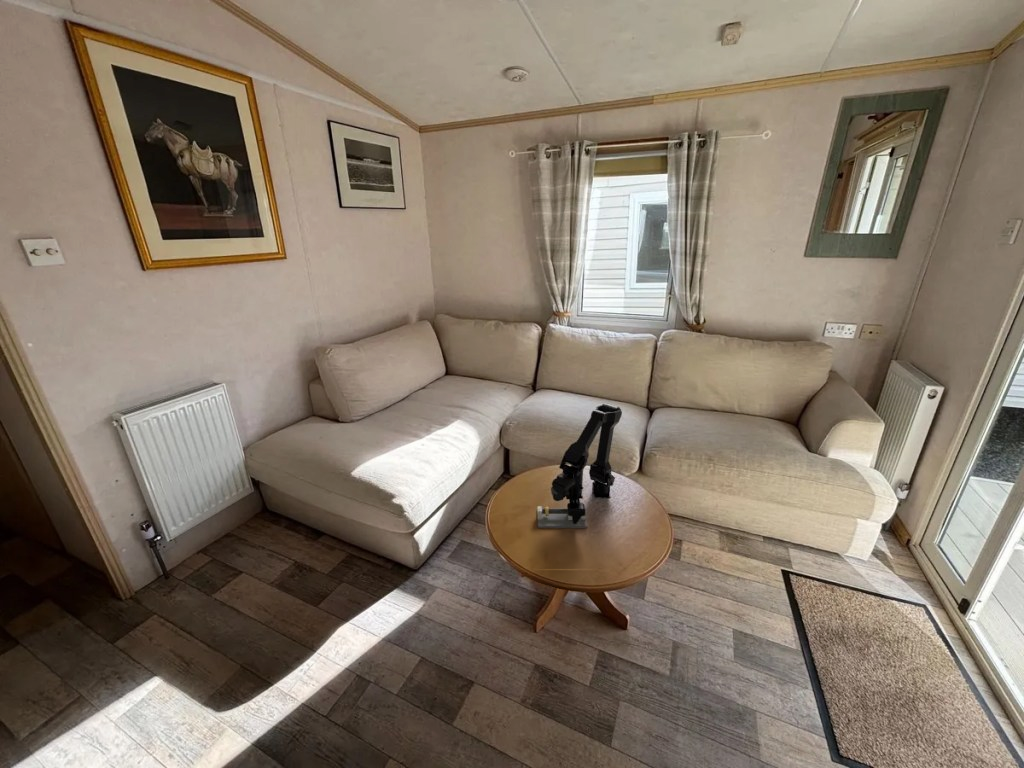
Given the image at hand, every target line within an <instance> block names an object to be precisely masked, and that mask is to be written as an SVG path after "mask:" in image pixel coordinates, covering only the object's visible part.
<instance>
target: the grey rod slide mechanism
mask: <svg viewBox="0 0 1024 768" xmlns="http://www.w3.org/2000/svg"><path fill="white" fill-rule="evenodd" d="M536 513H537V528H538V529H587V528H588V524H587V520H586V519H587V518H586V517H587V514H586V515H585V516H582V517H581V518H580V519H579V521H578V522H577V523H576V524H573V520H568V512H567V507H555V508H554V507H549V506H545V507H543V506H542V505H539V506H537V510H536Z"/></svg>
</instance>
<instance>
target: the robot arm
mask: <svg viewBox="0 0 1024 768" xmlns="http://www.w3.org/2000/svg"><path fill="white" fill-rule="evenodd" d="M622 414H623V411H622V409H621V407H619V406H617V405H612V404H610V403H606V402H604V403H602V404H601V405H597V406H596V407H595V409H593V410H592V411H591V414H590V418H589V419H588V422H587V423H586V425H585V427H584V428H583V430H582V432H581V433H580V435H579V436H578V438H577V440H576V441H575V442H572V443H571V444H570V445H569V446H568V448H567V450H565V452H564V454H563V456H562V458H561V459H562V460H561V461H560V463H559V467H558V469H560V470H562V471H561V472H560V473H559V474H558V475H556V477H555V478H554V479H553V480H552V482H551V487H550V493H551V495H552V499H553V500H554V501H555V502H560V501H563V500H564V499H565V500H568V503H569V504H568V503H567V504H566V505H567V506H566V508H567V512H568V515H569V516H572V520H573V524H576V523H577V522H578V521H579V519H580V518H581V517H582V516H585V515H586V516H587V510H586V505H585V504H584V503H583V502H581V500H582V499H584V497H583V496H584V495H583V490H584V484H583V481H584V480H583V478H584V469H585V468H586V467H587V463H588V459H589V457H590V452H589V450H590V447H591V446H592V444H593V442H594V439H596V437H597V435H598V432H599V431H600V433H599V439H598V445H597V446H598V447H597V453H596V459H595V461H593V463H591V464H590V465H589V471H588V475H589V478H590V480H591V481H593V482H591V485H592V486H591V492H592V494H593V497H594V498H595V499H610V498H611V497H612V496H611V494H610V493H611V487H613V485H614V482H615V479H616V476H614V475H613V474H612V469H613V467H612V466H611V464H610V455H611V449H612V441H613V437H614V436H613V435H614V429H615V427H616V426H617V425H618V423H619V422H620V420H621V418H622V416H623V415H622ZM568 464H569V465H568Z"/></svg>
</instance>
